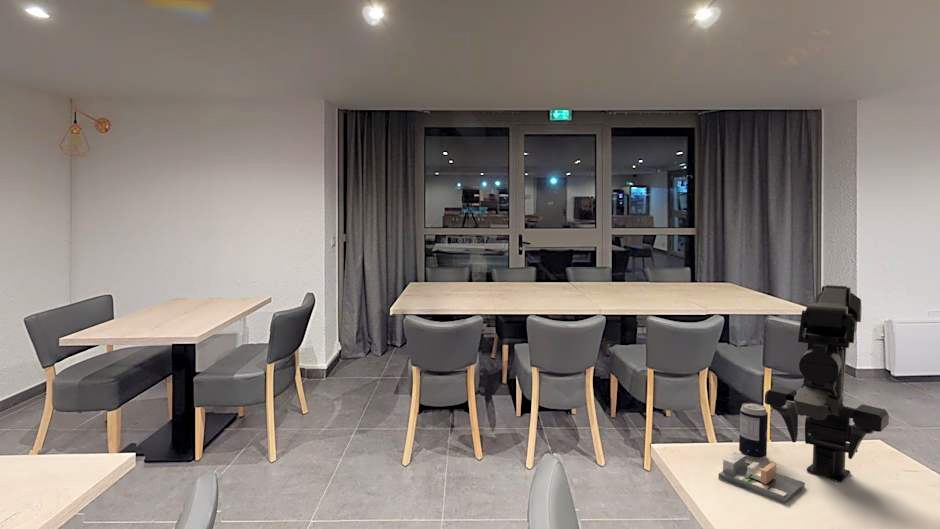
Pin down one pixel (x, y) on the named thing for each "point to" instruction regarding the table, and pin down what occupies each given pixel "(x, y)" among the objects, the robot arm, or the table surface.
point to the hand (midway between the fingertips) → (821, 449)
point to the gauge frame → (775, 489)
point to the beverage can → (753, 430)
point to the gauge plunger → (761, 472)
